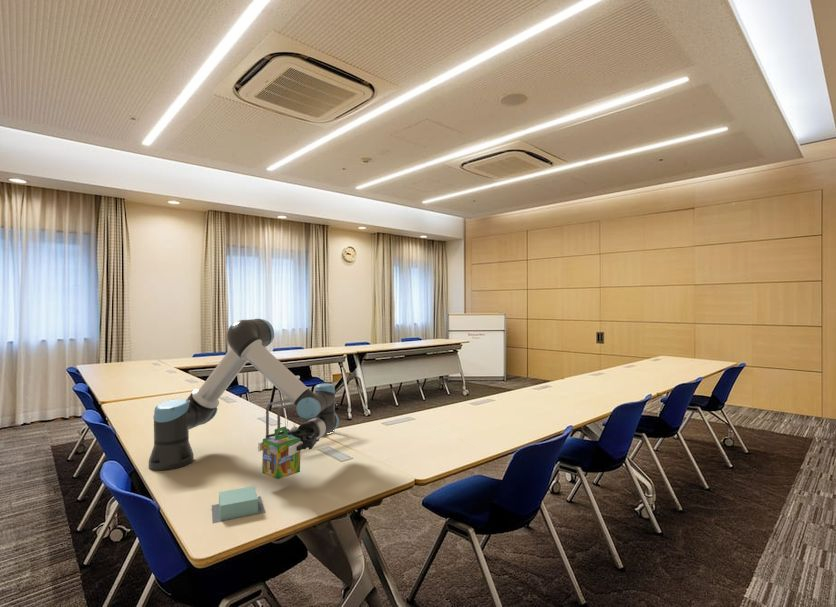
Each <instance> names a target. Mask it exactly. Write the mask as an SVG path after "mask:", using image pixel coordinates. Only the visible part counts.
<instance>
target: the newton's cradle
mask: <svg viewBox="0 0 836 607" xmlns="http://www.w3.org/2000/svg"><path fill="white" fill-rule="evenodd" d="M290 402H291V401H290V400H289V399H288V398H287V399H283V400H278V401H272V402H269V403H267V404H266V406H265V407H266V408H265V436H266V435H270V434H269V433H270V432H269V431H270V427H269V424H270V423H269V422H270V407H271V406H276V407H278V409H277V414H276V415H277V416H276V418H277V419H276V420H277V427H276V429H278V428H281V411H282V410H284V411H283V412H284V414H286V412H285V409H287V408H288V410H290V409H291V408H293V407H296V405H294V404H293V403H292V402H291V403H290ZM280 404H283V405H280ZM291 410H292V411H291V412H292V413H291V414H294V410H293V409H291ZM334 412H335V413H336V407H335V408H334ZM289 415H290V413H288V415H287V418H289V417H290V416H289ZM295 415H298V413H297V410H296V413H295ZM299 418H300V419H302V418H301V417H300V416H299ZM292 420H293V421H292V422H293V424H296V421H297V419H295V422H294V418H292ZM288 422H289V420H287V423H286V421H284V424H285V425H284V427H286V430H287V429H288V427H287V425H288ZM303 423H304V420H301V424H303ZM297 429H298V426H296V425H293V426H292V427H290V429H289V432H290V431H295V430H297ZM335 430H336V429H334V431H332V432H333V433H335ZM279 432H281V431H279ZM326 436H328V435H327V434H326ZM323 437H325V435H324V436H323Z"/></svg>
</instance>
